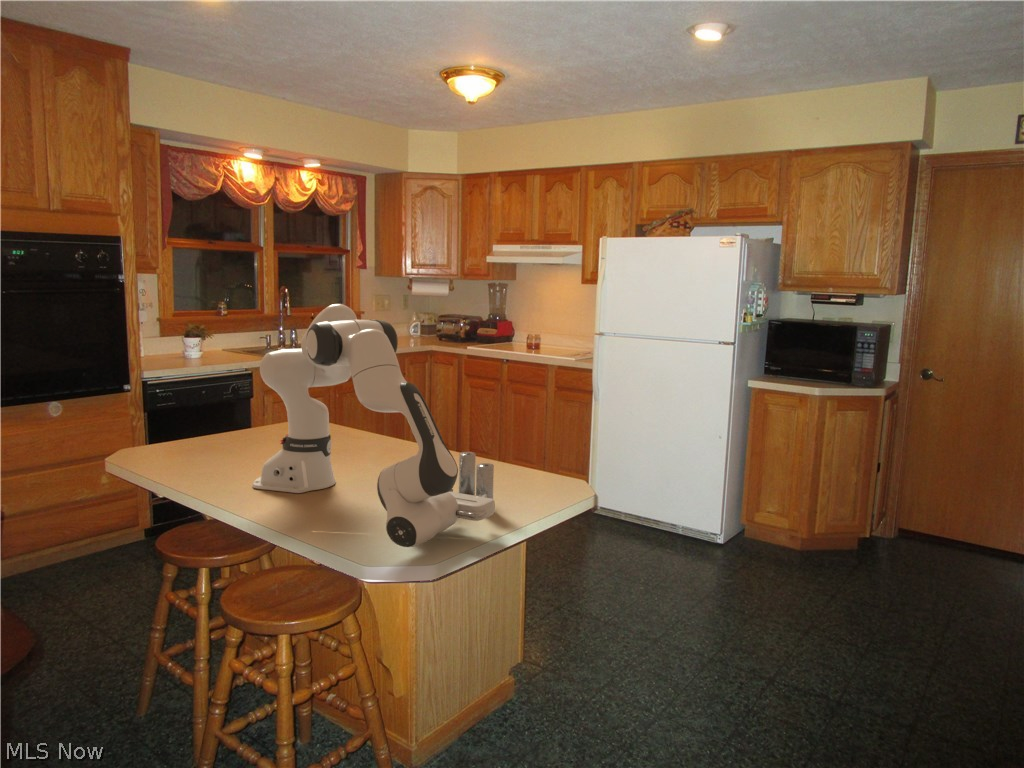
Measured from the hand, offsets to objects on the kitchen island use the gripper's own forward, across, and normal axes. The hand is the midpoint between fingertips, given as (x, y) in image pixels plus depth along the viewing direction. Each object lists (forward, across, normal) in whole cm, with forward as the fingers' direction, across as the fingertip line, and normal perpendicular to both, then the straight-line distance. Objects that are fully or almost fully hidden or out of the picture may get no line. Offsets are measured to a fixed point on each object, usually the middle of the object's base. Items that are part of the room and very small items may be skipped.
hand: (467, 494), depth 174 cm
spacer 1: (+18, +9, +7) cm, 21 cm away
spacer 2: (+9, 0, +7) cm, 12 cm away
